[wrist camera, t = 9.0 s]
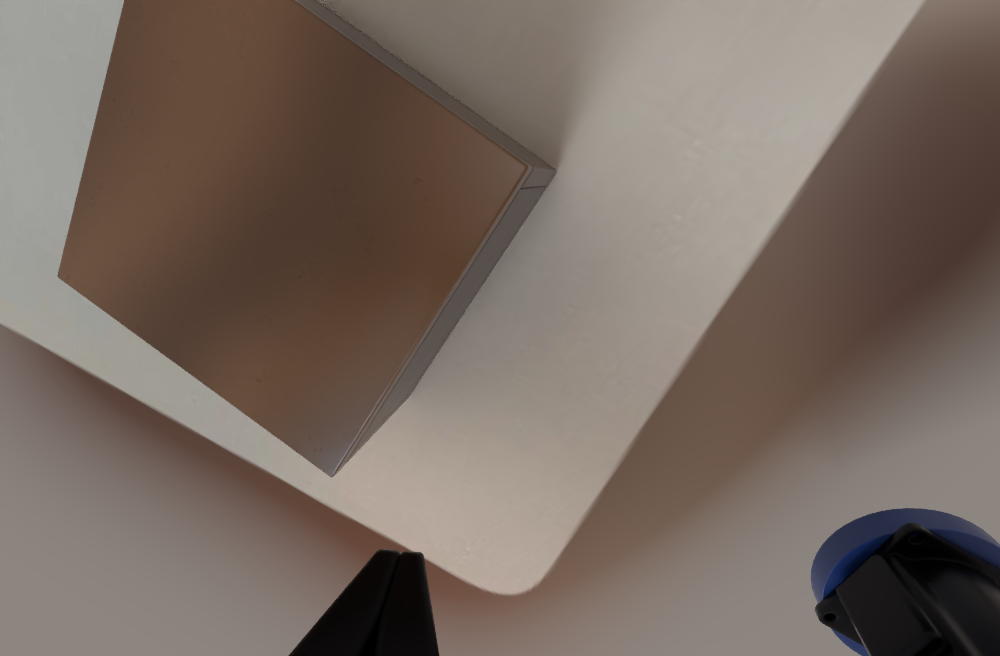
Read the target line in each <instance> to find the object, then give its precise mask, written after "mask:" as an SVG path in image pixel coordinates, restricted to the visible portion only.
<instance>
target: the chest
mask: <svg viewBox="0 0 1000 656" xmlns="http://www.w3.org/2000/svg"><path fill="white" fill-rule="evenodd" d="M298 1H300V2H301V3H303V4H304V5H305V6H307V7H308V8H310V9H311V10H313V11H314V12H315V13H317V14H318V15H320V16H321V17H322V18H324V19H325V20H327V21H328V22H329V23H331V24H332V25H334V26H335V27H337V28H338V29H339V30H341V31H342V32H344V33H345V34H346V35H348V36H349V37H351V38H352V39H353V40H355V41H356V42H358V43H359V44H361V45H362V46H363V47H365V48H366V49H368V50H369V51H370V52H372V53H373V54H375V55H376V56H377V57H379V58H380V59H382V60H383V61H385V62H386V63H387V64H389V65H390V66H392V67H393V68H394V69H396V70H397V71H399V72H400V73H401V74H403V75H404V76H406V77H407V78H409V79H410V80H411V81H413V82H414V83H416V84H417V85H418V86H420V87H421V88H423V89H424V90H425V91H427V92H428V93H430V94H431V95H433V96H434V97H435V98H437V99H438V100H440V101H441V102H442V103H444V104H445V105H447V106H448V107H449V108H451V109H452V110H454V111H455V112H457V113H458V114H459V115H461V116H462V117H464V118H465V119H466V120H468V121H469V122H471V123H472V124H473V125H475V126H476V127H478V128H479V129H481V130H482V131H483V132H485V133H486V134H488V135H489V136H490V137H492V138H493V139H495V140H496V141H497V142H499V143H500V144H502V145H503V146H505V147H506V148H507V149H509V150H510V151H512V152H513V153H514V154H516V155H517V156H519V157H520V158H521V159H523V160H524V161H526V162H527V163H529V164H530V165H531V166H532V167H533V168H532V171H531V172H530V174H529V175H528V177H527V179H526V180H525V182H524V183H523V185H522V186H521V188H520V190H519V191H518V193H517V194H516V196H515V197H514V199H513V201H512V202H511V204H510V205H509V207H508V208H507V210H506V212H505V213H504V215H503V216H502V218H501V219H500V221H499V223H498V224H497V226H496V227H495V229H494V230H493V232H492V234H491V235H490V237H489V238H488V240H487V241H486V243H485V245H484V246H483V248H482V249H481V251H480V252H479V254H478V256H477V257H476V259H475V260H474V262H473V263H472V265H471V267H470V268H469V270H468V271H467V273H466V274H465V276H464V278H463V279H462V281H461V282H460V284H459V285H458V287H457V289H456V290H455V292H454V293H453V295H452V296H451V298H450V300H449V301H448V303H447V304H446V306H445V307H444V309H443V311H442V312H441V314H440V315H439V317H438V318H437V320H436V322H435V323H434V325H433V326H432V328H431V329H430V331H429V333H428V334H427V336H426V337H425V339H424V340H423V342H422V344H421V345H420V347H419V348H418V350H417V351H416V353H415V355H414V356H413V358H412V359H411V361H410V362H409V364H408V366H407V367H406V369H405V370H404V372H403V373H402V375H401V377H400V378H399V380H398V381H397V383H396V384H395V386H394V388H393V389H392V391H391V392H390V394H389V395H388V397H387V399H386V400H385V402H384V403H383V405H382V406H381V408H380V410H379V411H378V413H377V414H376V416H375V417H374V419H373V421H372V422H371V424H370V425H369V427H368V428H367V430H366V432H365V433H364V435H363V436H362V438H361V439H360V441H359V443H358V444H357V446H356V447H355V449H354V450H353V452H352V454H351V455H350V457H349V458H348V460H347V461H346V463H347V462H348V461H349V460H350V459H351V458H352V457H353V455H354V454H355V453H356V452H357V451H358V450H359V449H360V448H361V447H362V446H363V445H364V444H365V443H366V442H367V441H368V440H369V439H370V438H371V436H372V435H373V434H374V433H375V432H376V431H377V430H378V429H379V428H380V427H381V426H382V425H383V424H384V423H385V422H386V421H387V420H388V419H389V418H390V416H391V415H392V414H393V413H394V412H395V411H396V410H397V409H398V408H399V407H400V406H401V405H402V404H403V403H404V402H405V401H406V400H407V399H408V397H409V396H410V394H411V393H412V391H413V390H414V388H415V386H416V385H417V383H418V382H419V380H420V379H421V377H422V376H423V374H424V373H425V371H426V370H427V368H428V367H429V365H430V364H431V362H432V361H433V359H434V358H435V356H436V355H437V353H438V352H439V350H440V349H441V347H442V346H443V344H444V342H445V341H446V339H447V338H448V336H449V335H450V333H451V332H452V330H453V329H454V327H455V326H456V324H457V323H458V321H459V320H460V318H461V317H462V315H463V314H464V312H465V311H466V309H467V308H468V306H469V305H470V303H471V302H472V300H473V299H474V297H475V295H476V294H477V292H478V291H479V289H480V288H481V286H482V285H483V283H484V282H485V280H486V279H487V277H488V276H489V274H490V273H491V271H492V270H493V268H494V267H495V265H496V264H497V262H498V261H499V259H500V258H501V256H502V255H503V253H504V251H505V250H506V248H507V247H508V245H509V244H510V242H511V241H512V239H513V238H514V236H515V235H516V233H517V232H518V230H519V229H520V227H521V226H522V224H523V223H524V221H525V220H526V218H527V217H528V215H529V214H530V212H531V211H532V209H533V208H534V206H535V204H536V203H537V201H538V200H539V198H540V197H541V195H542V194H543V192H544V191H545V189H546V188H547V186H548V185H549V183H550V182H551V180H552V179H553V177H554V176H555V174H556V172H557V171H556V170H555V169H554V168H553V167H551V166H550V165H548V164H547V163H546V162H544V161H543V160H541V159H540V158H538V157H537V156H536V155H534V154H533V153H531V152H530V151H529V150H527V149H526V148H524V147H523V146H522V145H520V144H519V143H517V142H516V141H514V140H513V139H512V138H510V137H509V136H507V135H506V134H505V133H503V132H502V131H500V130H499V129H497V128H496V127H495V126H493V125H492V124H490V123H489V122H488V121H486V120H485V119H483V118H482V117H481V116H479V115H478V114H476V113H475V112H473V111H472V110H471V109H469V108H468V107H466V106H465V105H464V104H462V103H461V102H459V101H458V100H456V99H455V98H454V97H452V96H451V95H449V94H448V93H447V92H445V91H444V90H442V89H441V88H440V87H438V86H437V85H435V84H434V83H432V82H431V81H430V80H428V79H427V78H425V77H424V76H423V75H421V74H420V73H418V72H417V71H415V70H414V69H413V68H411V67H410V66H408V65H407V64H406V63H404V62H403V61H401V60H400V59H399V58H397V57H396V56H394V55H393V54H391V53H390V52H389V51H387V50H386V49H384V48H383V47H382V46H380V45H379V44H377V43H376V42H374V41H373V40H372V39H370V38H369V37H367V36H366V35H365V34H363V33H362V32H360V31H359V30H358V29H356V28H355V27H353V26H352V25H350V24H349V23H348V22H346V21H345V20H343V19H342V18H341V17H339V16H338V15H336V14H335V13H334V12H332V11H331V10H329V9H328V8H326V7H325V6H324V5H322V4H321V3H319V2H318V1H316V0H298Z"/></svg>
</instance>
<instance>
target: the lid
mask: <svg viewBox="0 0 1000 656" xmlns="http://www.w3.org/2000/svg"><path fill="white" fill-rule="evenodd" d="M532 168H533V167H532V166H531V165H530V164H529V163H527V162H526V161H524V160H523V159H521V158H520V157H519V156H517V155H516V154H514V153H513V152H512V151H510V150H509V149H507V148H506V147H505V146H503V145H502V144H500V143H499V142H497V141H496V140H495V139H493V138H492V137H490V136H489V135H488V134H486V133H485V132H483V131H482V130H481V129H479V128H478V127H476V126H475V125H473V124H472V123H471V122H469V121H468V120H466V119H465V118H464V117H462V116H461V115H459V114H458V113H457V112H455V111H454V110H452V109H451V108H449V107H448V106H447V105H445V104H444V103H442V102H441V101H440V100H438V99H437V98H435V97H434V96H433V95H431V94H430V93H428V92H427V91H425V90H424V89H423V88H421V87H420V86H418V85H417V84H416V83H414V82H413V81H411V80H410V79H409V78H407V77H406V76H404V75H403V74H401V73H400V72H399V71H397V70H396V69H394V68H393V67H392V66H390V65H389V64H387V63H386V62H385V61H383V60H382V59H380V58H379V57H377V56H376V55H375V54H373V53H372V52H370V51H369V50H368V49H366V48H365V47H363V46H362V45H361V44H359V43H358V42H356V41H355V40H353V39H352V38H351V37H349V36H348V35H346V34H345V33H344V32H342V31H341V30H339V29H338V28H337V27H335V26H334V25H332V24H331V23H329V22H328V21H327V20H325V19H324V18H322V17H321V16H320V15H318V14H317V13H315V12H314V11H313V10H311V9H310V8H308V7H307V6H305V5H304V4H303V3H301V2H300V1H298V0H124V4H123V8H122V12H121V16H120V20H119V24H118V28H117V33H116V37H115V41H114V45H113V49H112V53H111V57H110V61H109V66H108V70H107V74H106V78H105V82H104V86H103V90H102V94H101V99H100V103H99V107H98V111H97V115H96V119H95V123H94V127H93V131H92V136H91V140H90V144H89V148H88V152H87V156H86V160H85V164H84V169H83V173H82V177H81V181H80V185H79V189H78V193H77V197H76V201H75V206H74V210H73V214H72V218H71V222H70V226H69V230H68V234H67V239H66V243H65V247H64V251H63V255H62V259H61V263H60V267H59V272H58V278H59V279H61V280H62V281H64V282H65V283H66V284H68V285H69V286H70V287H72V288H73V289H75V290H76V291H77V292H79V293H80V294H81V295H83V296H84V297H85V298H87V299H88V300H90V301H91V302H92V303H94V304H95V305H96V306H98V307H99V308H101V309H102V310H103V311H105V312H106V313H107V314H109V315H110V316H111V317H113V318H114V319H116V320H117V321H118V322H120V323H121V324H122V325H124V326H125V327H126V328H128V329H129V330H131V331H132V332H133V333H135V334H136V335H137V336H139V337H140V338H142V339H143V340H144V341H146V342H147V343H148V344H150V345H151V346H152V347H154V348H155V349H157V350H158V351H159V352H161V353H162V354H163V355H165V356H166V357H167V358H169V359H170V360H172V361H173V362H174V363H176V364H177V365H178V366H180V367H181V368H183V369H184V370H185V371H187V372H188V373H189V374H191V375H192V376H193V377H195V378H196V379H198V380H199V381H200V382H202V383H203V384H204V385H206V386H207V387H209V388H210V389H211V390H213V391H214V392H215V393H217V394H218V395H219V396H221V397H222V398H224V399H225V400H226V401H228V402H229V403H230V404H232V405H233V406H234V407H236V408H237V409H239V410H240V411H241V412H243V413H244V414H245V415H247V416H248V417H250V418H251V419H252V420H254V421H255V422H256V423H258V424H259V425H260V426H262V427H263V428H265V429H266V430H267V431H269V432H270V433H271V434H273V435H274V436H275V437H277V438H278V439H280V440H281V441H282V442H284V443H285V444H286V445H288V446H289V447H291V448H292V449H293V450H295V451H296V452H297V453H299V454H300V455H301V456H303V457H304V458H306V459H307V460H308V461H310V462H311V463H312V464H314V465H315V466H317V467H318V468H319V469H321V470H322V471H323V472H325V473H326V474H327V475H329V476H330V477H333V476H334V475H335V474H336V473H337V472H338V471H339V470H340V469H341V468H342V467H343V466H344V465H345V463H346V461H347V460H348V458H349V457H350V455H351V454H352V452H353V450H354V449H355V447H356V446H357V444H358V443H359V441H360V439H361V438H362V436H363V435H364V433H365V432H366V430H367V428H368V427H369V425H370V424H371V422H372V421H373V419H374V417H375V416H376V414H377V413H378V411H379V410H380V408H381V406H382V405H383V403H384V402H385V400H386V399H387V397H388V395H389V394H390V392H391V391H392V389H393V388H394V386H395V384H396V383H397V381H398V380H399V378H400V377H401V375H402V373H403V372H404V370H405V369H406V367H407V366H408V364H409V362H410V361H411V359H412V358H413V356H414V355H415V353H416V351H417V350H418V348H419V347H420V345H421V344H422V342H423V340H424V339H425V337H426V336H427V334H428V333H429V331H430V329H431V328H432V326H433V325H434V323H435V322H436V320H437V318H438V317H439V315H440V314H441V312H442V311H443V309H444V307H445V306H446V304H447V303H448V301H449V300H450V298H451V296H452V295H453V293H454V292H455V290H456V289H457V287H458V285H459V284H460V282H461V281H462V279H463V278H464V276H465V274H466V273H467V271H468V270H469V268H470V267H471V265H472V263H473V262H474V260H475V259H476V257H477V256H478V254H479V252H480V251H481V249H482V248H483V246H484V245H485V243H486V241H487V240H488V238H489V237H490V235H491V234H492V232H493V230H494V229H495V227H496V226H497V224H498V223H499V221H500V219H501V218H502V216H503V215H504V213H505V212H506V210H507V208H508V207H509V205H510V204H511V202H512V201H513V199H514V197H515V196H516V194H517V193H518V191H519V190H520V188H521V186H522V185H523V183H524V182H525V180H526V179H527V177H528V175H529V174H530V172H531V171H532Z"/></svg>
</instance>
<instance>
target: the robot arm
mask: <svg viewBox="0 0 1000 656" xmlns="http://www.w3.org/2000/svg"><path fill="white" fill-rule="evenodd" d="M914 534H918V535H917V536H915V537H911V536H912V535H914ZM910 537H911V538H910ZM815 612H816V614H817V616H818V618H819V620H820V621H821V622H822V623H823V624H825V625H826V626H828V627H830V628H832V629H834V630H835V631H837V632H839V633H841V634H843V635H844V636H846V637H848V638H850V639H851V640H853V641H855V642H857V643H859V644H860V645H862V646H864V647H865V648H866V650H867V652H868V654H869V656H1000V568H999V567H998V566H996V565H994V564H992V563H990V562H988V561H986V560H985V559H983V558H981V557H979V556H977V555H975V554H973V553H972V552H970V551H968V550H966V549H964V548H962V547H960V546H959V545H957V544H955V543H953V542H951V541H949V540H947V539H946V538H944V537H942V536H940V535H938V534H936V533H934V532H933V531H931V530H929V529H927V528H925V527H923V526H921V525H919V524H916V523H908V524H905V525H903V526H901V527H900V528H899V529H898V530H897V531H896V532H895V533H894V534H893V535H892V536H890V537H889V538H888V539H887V540H886V541H885V542H884V543H883V544H882V545H881V546H880V547H879V548H878V549H876V550H875V551H874V552H873V553H872V554H871V555H870V556H869V557H868V558H867V559H866V560H865V561H864V562H863V563H861V564H860V565H859V566H858V567H857V568H856V569H855V570H854V571H853V572H852V573H851V574H850V575H849V576H847V577H846V578H845V579H844V580H843V581H842V582H841V583H840V584H839V585H838V586H837V587H836V588H835V589H833V590H832V591H831V592H830V593H829V594H828V595H827V596H826V597H825V598H824V599H823V600H822V601H821V602H819V603H818V604H817V606H816V607H815ZM827 613H830V614H827ZM289 656H439V652H438V645H437V639H436V632H435V625H434V620H433V613H432V606H431V599H430V593H429V587H428V580H427V574H426V567H425V561H424V556H423V554H422V553H421V552H411V551H404V552H402V553H400V552H399V551H397V550H388V549H380V550H378V551H377V552H376V553H375V554H374V555H373V556H372V558H371V559H370V560H369V561H368V562H367V564H366V565H365V566H364V567H363V568H362V570H361V571H360V572H359V573H358V574H357V575H356V577H355V578H354V579H353V580H352V581H351V582H350V584H349V585H348V586H347V587H346V588H345V590H344V591H343V592H342V593H341V595H339V597H338V598H337V599H336V600H335V601H334V603H333V604H332V605H331V606H330V607H329V608H328V610H327V611H326V612H325V613H324V614H323V616H322V617H321V618H320V619H319V620H318V622H317V623H316V624H315V625H314V626H313V627H312V629H311V630H310V631H309V632H308V633H307V635H306V636H305V637H304V638H303V639H302V640H301V642H300V643H299V644H298V645H297V647H296V648H295V649H294V650H293V651H292V653H290V655H289Z"/></svg>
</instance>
